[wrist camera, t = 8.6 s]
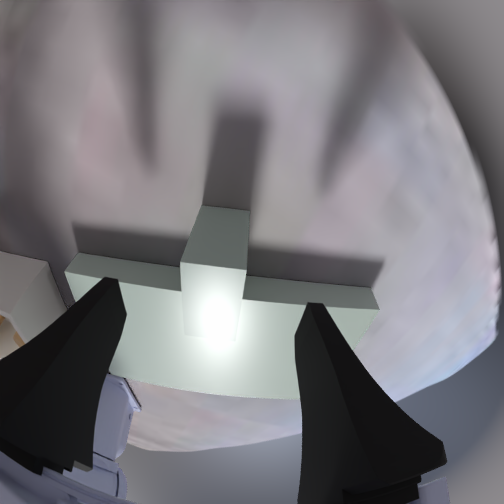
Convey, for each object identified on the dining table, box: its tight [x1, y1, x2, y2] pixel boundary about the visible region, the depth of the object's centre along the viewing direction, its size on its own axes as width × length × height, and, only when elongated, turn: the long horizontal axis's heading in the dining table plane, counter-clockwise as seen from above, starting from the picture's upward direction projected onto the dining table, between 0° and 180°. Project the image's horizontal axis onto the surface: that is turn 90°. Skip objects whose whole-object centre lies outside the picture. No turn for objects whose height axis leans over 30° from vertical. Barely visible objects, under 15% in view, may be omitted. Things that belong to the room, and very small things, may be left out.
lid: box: [64, 205, 380, 399], centre depth 15 cm, size 15×18×4 cm
